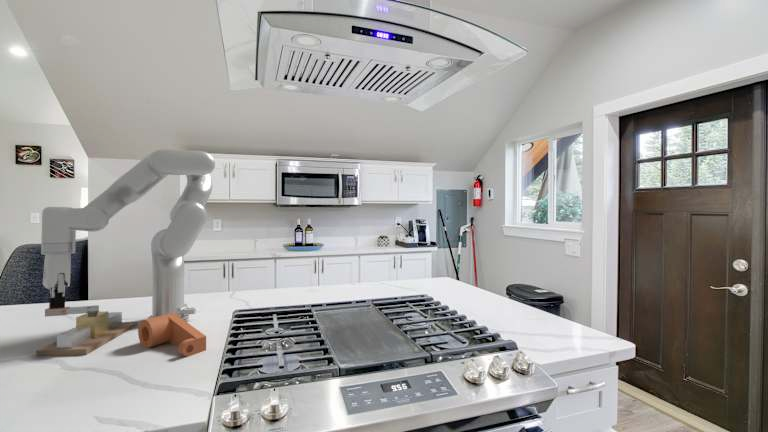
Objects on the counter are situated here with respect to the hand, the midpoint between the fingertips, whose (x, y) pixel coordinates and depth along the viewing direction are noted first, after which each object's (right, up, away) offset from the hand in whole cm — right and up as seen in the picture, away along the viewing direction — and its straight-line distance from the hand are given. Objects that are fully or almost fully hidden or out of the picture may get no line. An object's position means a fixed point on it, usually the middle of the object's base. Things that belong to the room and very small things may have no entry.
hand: (57, 310), depth 106 cm
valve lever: (+6, -1, -1) cm, 6 cm away
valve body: (+10, -7, 0) cm, 12 cm away
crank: (+37, -9, -5) cm, 38 cm away
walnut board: (+10, -9, 0) cm, 13 cm away
